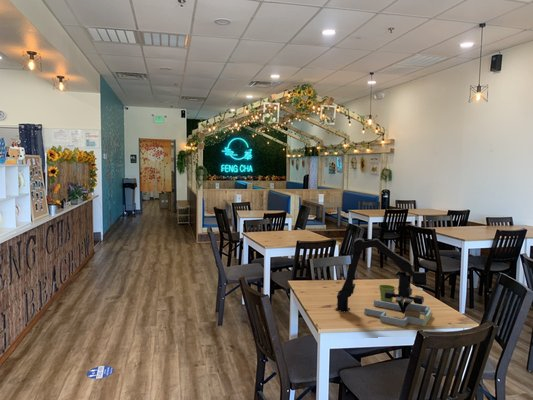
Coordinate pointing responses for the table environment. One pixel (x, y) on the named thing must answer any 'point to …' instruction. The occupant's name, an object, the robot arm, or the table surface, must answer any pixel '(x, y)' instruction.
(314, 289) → the table surface
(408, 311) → the block
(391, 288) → the plant pot
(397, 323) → the grey zigzag track
